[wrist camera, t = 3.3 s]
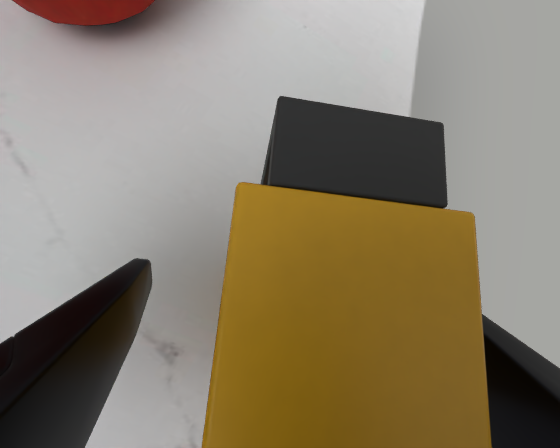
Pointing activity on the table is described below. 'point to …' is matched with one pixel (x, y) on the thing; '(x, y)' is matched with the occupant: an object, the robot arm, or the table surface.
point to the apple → (85, 10)
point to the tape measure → (349, 293)
